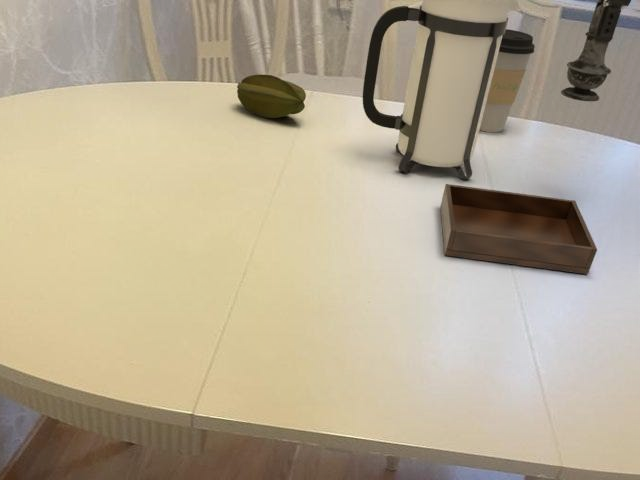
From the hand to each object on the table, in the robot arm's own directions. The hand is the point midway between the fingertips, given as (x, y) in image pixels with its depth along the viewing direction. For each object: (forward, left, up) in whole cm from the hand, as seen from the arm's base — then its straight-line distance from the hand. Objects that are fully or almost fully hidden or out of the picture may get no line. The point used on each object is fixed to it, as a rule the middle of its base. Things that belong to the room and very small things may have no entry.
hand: (598, 37), depth 100 cm
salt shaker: (0, 0, -7) cm, 7 cm away
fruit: (+46, -21, -21) cm, 55 cm away
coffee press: (+19, -6, -21) cm, 29 cm away
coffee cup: (+7, -31, -21) cm, 39 cm away
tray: (+8, +19, -21) cm, 29 cm away
